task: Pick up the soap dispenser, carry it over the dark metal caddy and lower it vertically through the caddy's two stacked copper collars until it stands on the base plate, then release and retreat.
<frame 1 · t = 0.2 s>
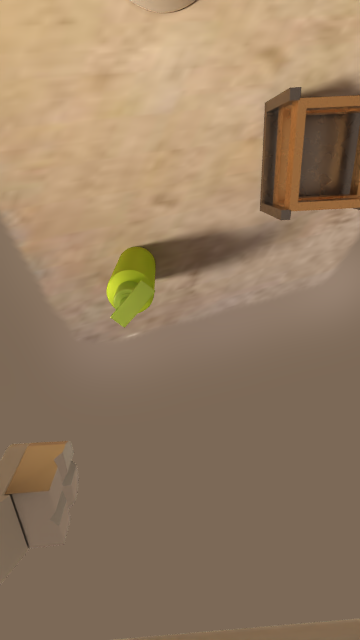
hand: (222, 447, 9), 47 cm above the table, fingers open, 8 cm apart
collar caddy: (310, 157, 50), on the table
soap dispenser: (139, 262, 55), on the table
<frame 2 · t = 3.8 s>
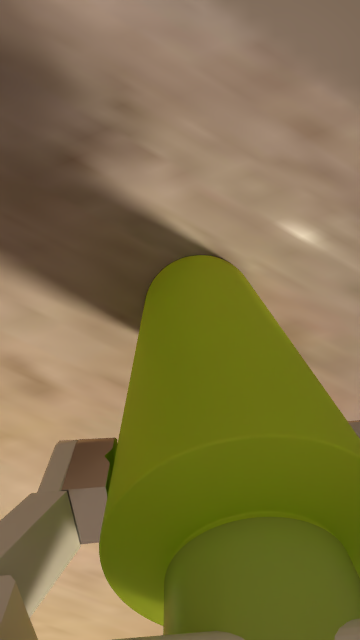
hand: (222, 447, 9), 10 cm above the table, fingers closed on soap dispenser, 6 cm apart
soap dispenser: (189, 308, 19), on the table, touching gripper
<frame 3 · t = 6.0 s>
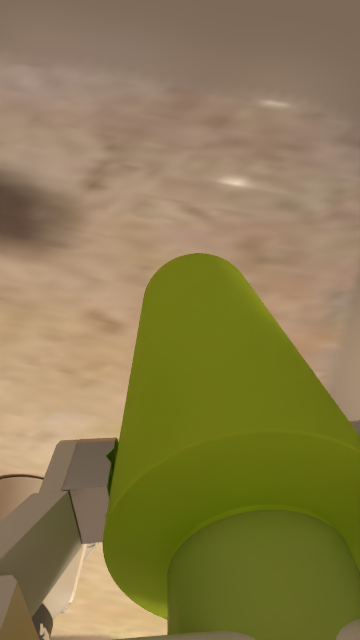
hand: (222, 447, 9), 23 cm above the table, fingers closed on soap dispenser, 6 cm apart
soap dispenser: (187, 306, 19), point 13 cm above the table, touching gripper
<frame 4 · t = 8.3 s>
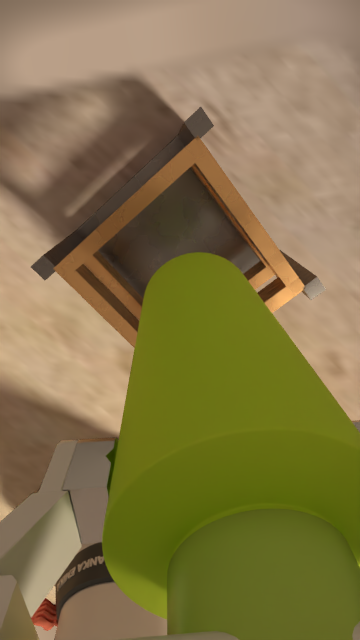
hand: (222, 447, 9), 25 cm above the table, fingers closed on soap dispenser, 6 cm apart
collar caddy: (177, 246, 32), on the table
soap dispenser: (187, 306, 19), point 15 cm above the table, touching gripper
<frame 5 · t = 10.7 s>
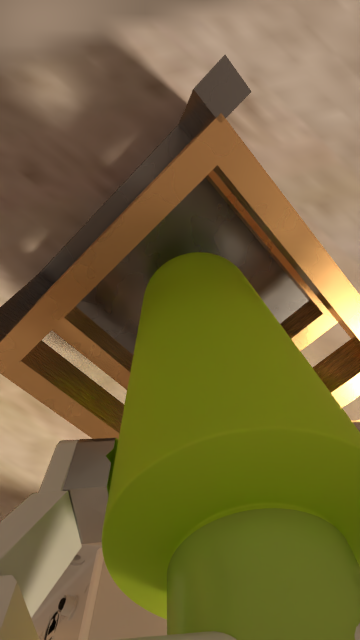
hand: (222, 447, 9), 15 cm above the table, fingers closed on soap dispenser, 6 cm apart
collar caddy: (186, 283, 23), on the table
soap dispenser: (187, 305, 19), point 4 cm above the table, touching gripper
when the fingers open (13 cm above the table, at t = 12.6 s): soap dispenser drops 1 cm, resting on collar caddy.
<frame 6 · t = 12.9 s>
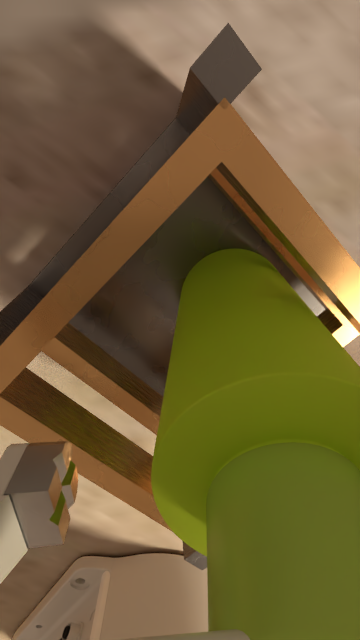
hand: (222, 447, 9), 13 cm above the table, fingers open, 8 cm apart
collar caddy: (189, 292, 21), on the table
soap dispenser: (222, 299, 20), point 1 cm above the table, touching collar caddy, gripper
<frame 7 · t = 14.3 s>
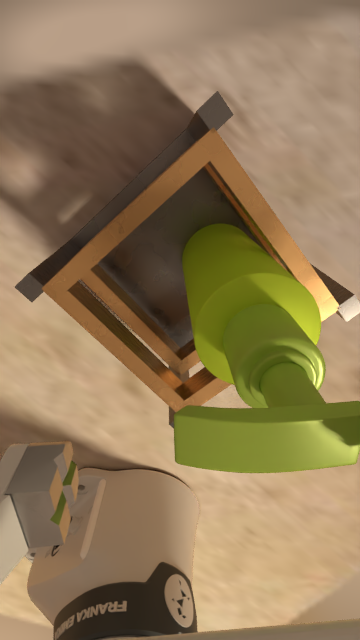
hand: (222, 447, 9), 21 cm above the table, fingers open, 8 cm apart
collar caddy: (186, 255, 29), on the table
soap dispenser: (211, 260, 28), point 1 cm above the table, touching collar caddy
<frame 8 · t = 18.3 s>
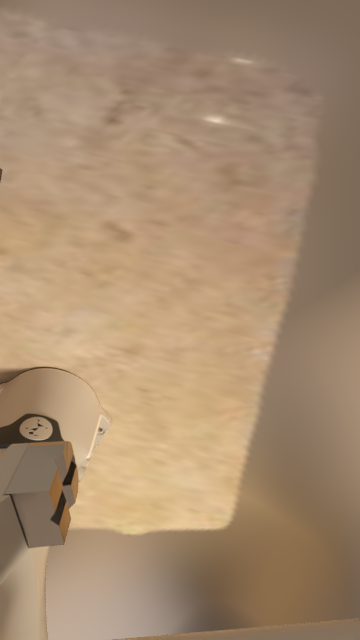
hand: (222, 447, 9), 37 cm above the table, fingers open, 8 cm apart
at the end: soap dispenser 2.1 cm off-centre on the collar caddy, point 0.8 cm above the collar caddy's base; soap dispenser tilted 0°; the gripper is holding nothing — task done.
